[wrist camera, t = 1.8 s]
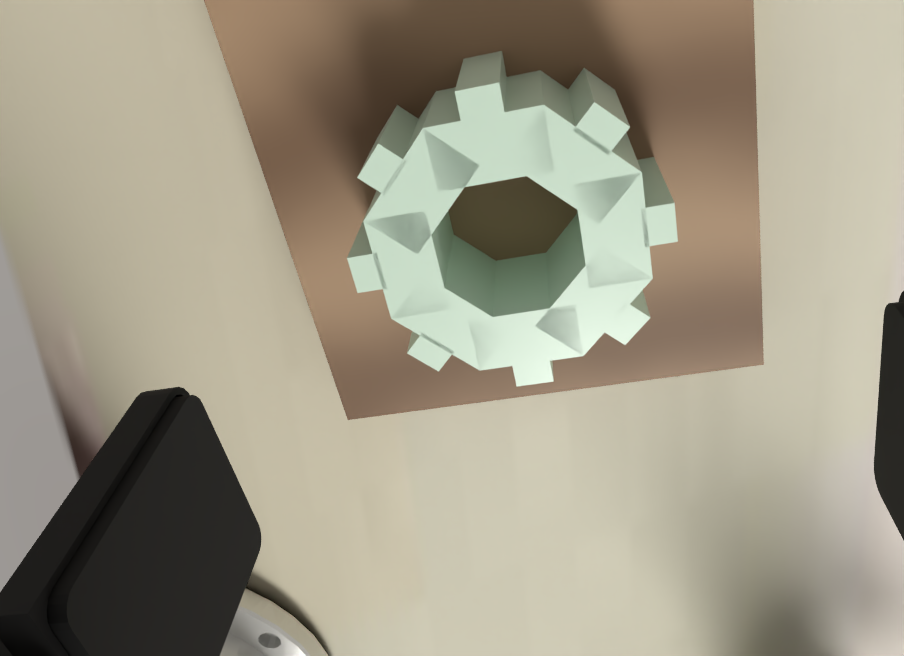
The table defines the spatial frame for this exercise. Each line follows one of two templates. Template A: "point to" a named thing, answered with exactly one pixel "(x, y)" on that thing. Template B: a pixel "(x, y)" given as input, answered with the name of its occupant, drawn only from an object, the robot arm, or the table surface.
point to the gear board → (514, 200)
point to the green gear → (522, 278)
